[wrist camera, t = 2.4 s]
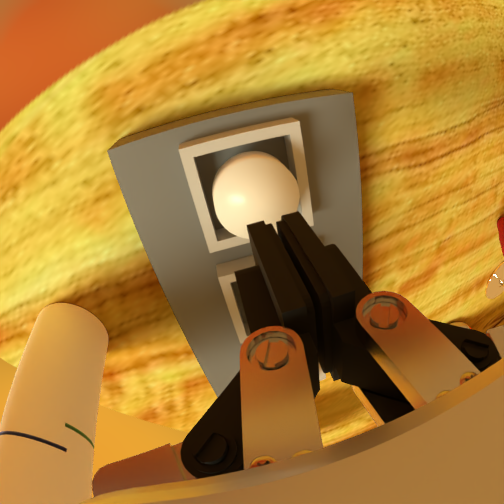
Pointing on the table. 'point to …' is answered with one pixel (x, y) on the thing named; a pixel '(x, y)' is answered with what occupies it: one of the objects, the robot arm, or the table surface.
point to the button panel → (203, 211)
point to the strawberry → (501, 232)
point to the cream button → (253, 191)
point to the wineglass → (495, 283)
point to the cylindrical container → (53, 410)
